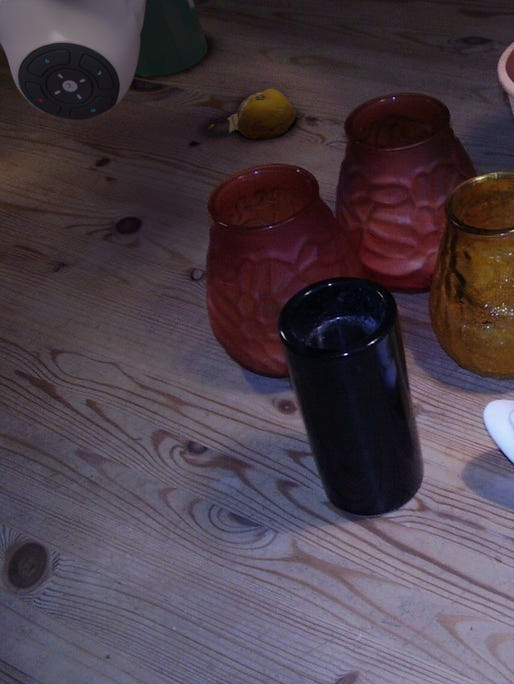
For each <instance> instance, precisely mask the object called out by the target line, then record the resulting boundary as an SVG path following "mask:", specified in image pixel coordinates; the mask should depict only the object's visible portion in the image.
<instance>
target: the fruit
mask: <svg viewBox="0 0 514 684" xmlns="http://www.w3.org/2000/svg"><path fill="white" fill-rule="evenodd" d="M236 111H237V112H235V113H234V114H231V115H230V117H228V118H227V120H228V121H229V128H228V133H229V134H231V133H232V132H235V131H239V133H240V134H242V135H243V136H244V137H245V138H246V139H248V140H253V141H261V140H271V139H278V138H280V137H282V136H283V135H284V134H285V133H286V132H287V131H289V128H290V126H291V125H292V124H293V123H295V122H296V118H297V111H296V109H295V107H293V105H292V103H291V102H290V100H289V99H288V98H287V97H286V96H285V94H284V93H282V92H281V91H279V90H278V89H275V88H271V87H270V88H267V89H265V90H263V91H262V92H260V91H257V92H254V93H252V94H251V95H249V96H248V97H246V98H245V99H244V100H243V101H241V103H240V105H239V107H238V108H237V110H236ZM213 127H215V124H214V123H212V124H211V125H210V126H209V127H208V128H207V129H208V130H209V129H212V128H213Z"/></svg>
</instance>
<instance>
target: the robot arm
mask: <svg viewBox="0 0 514 684" xmlns="http://www.w3.org/2000/svg"><path fill="white" fill-rule="evenodd" d="M145 7H146V0H0V45H1V47H2V48H3V49H2V50H3V51H4V53H5V56H6V59H7V62H8V66H9V70H10V72H11V76H12V79H13V81H14V85H15V86H16V88H17V89H18V91H19V93H21V95H22V96H23V97H24V99H25V100H26V101H27V102H28V103H29V104H30V105H31V106H33V107H34V108H35V109H37V110H38V111H39V112H41V113H44V114H46V115H48V116H50V117H53V118H57V119H63V120H70V121H83V120H90V119H93V118H96V117H100V116H103V115H105V114H106V113H108V112H110V111H111V110H112V109H114V108H115V107H116V106H118V104H119V103H120V102H121V101H122V100H123V98H124V97H125V96H126V94H127V93H128V92H129V89H130V87H131V85H132V82H133V80H134V77H135V74H136V73H135V71H136V67H137V62H138V57H139V50H140V33H141V30H142V27H143V22H144V14H145Z"/></svg>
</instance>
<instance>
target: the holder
mask: <svg viewBox="0 0 514 684" xmlns="http://www.w3.org/2000/svg"><path fill="white" fill-rule="evenodd" d="M208 48H209V46H208V43H207V40H206V36H205V33H204V30H203V28H202V25H201V21H200V18H199V14H198V11H197V8H196V6H195V3H194V0H146V7H145V14H144V22H143V27H142V30H141V33H140V50H139V57H138V62H137V67H136V71H135V74H136V75H139V76H141V77H142V76H143V77H150V78H151V77H163V76H170V75H173V74H177V73H180V72H183V71H186V70H187V69H189V68H191V67H193V66H195V65H196V64H198V63H199V62H201V60H203V58H204V57H205V56H206V54H207V52H208Z"/></svg>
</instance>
